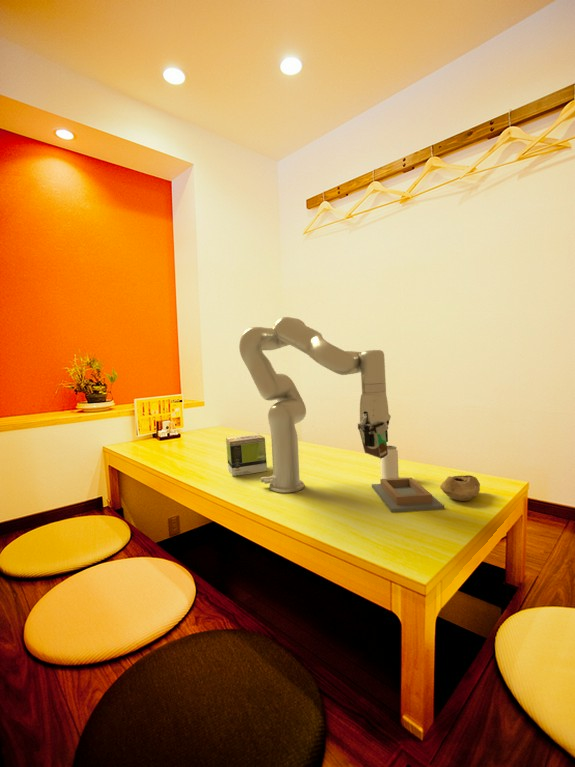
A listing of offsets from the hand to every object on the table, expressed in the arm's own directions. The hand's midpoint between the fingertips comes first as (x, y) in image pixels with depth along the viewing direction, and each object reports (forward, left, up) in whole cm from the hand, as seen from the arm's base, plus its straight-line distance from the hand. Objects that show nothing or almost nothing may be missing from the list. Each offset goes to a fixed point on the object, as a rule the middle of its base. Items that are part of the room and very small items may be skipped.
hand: (376, 443), depth 120 cm
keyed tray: (+9, 0, -18) cm, 20 cm away
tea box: (-45, +39, -19) cm, 63 cm away
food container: (+1, +1, -4) cm, 4 cm away
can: (+10, +19, -19) cm, 28 cm away
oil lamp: (+26, -2, -19) cm, 32 cm away
